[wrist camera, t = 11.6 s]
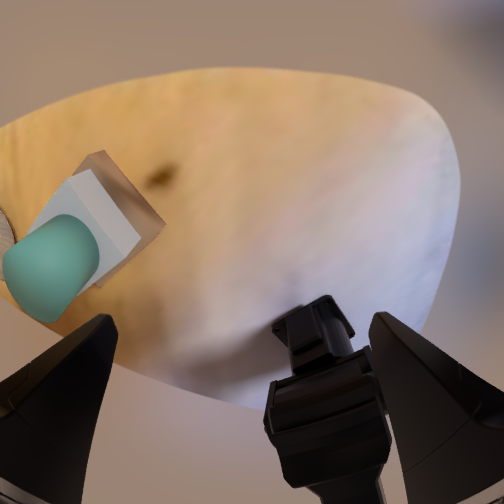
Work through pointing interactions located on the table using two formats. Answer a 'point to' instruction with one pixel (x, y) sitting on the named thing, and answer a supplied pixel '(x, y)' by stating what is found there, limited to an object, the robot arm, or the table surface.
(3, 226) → the seashell
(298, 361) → the robot arm
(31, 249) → the teal cylinder
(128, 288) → the table surface
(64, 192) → the grey block
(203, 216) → the table surface
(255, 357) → the table surface
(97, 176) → the walnut base
